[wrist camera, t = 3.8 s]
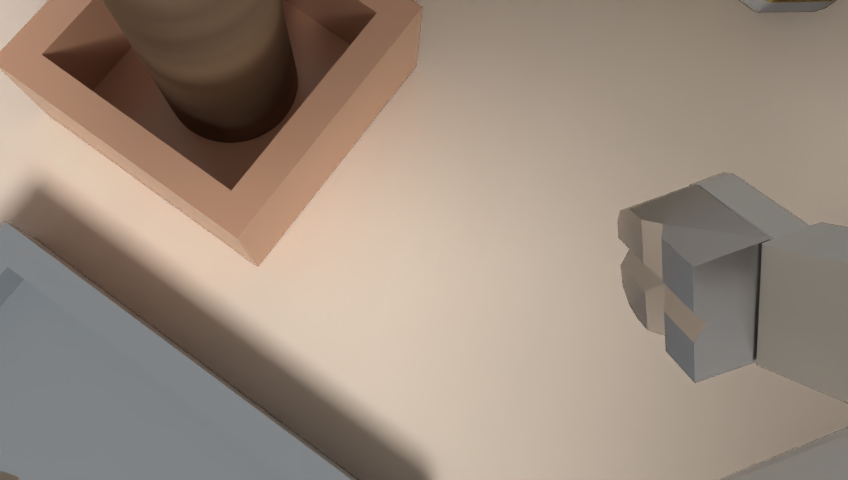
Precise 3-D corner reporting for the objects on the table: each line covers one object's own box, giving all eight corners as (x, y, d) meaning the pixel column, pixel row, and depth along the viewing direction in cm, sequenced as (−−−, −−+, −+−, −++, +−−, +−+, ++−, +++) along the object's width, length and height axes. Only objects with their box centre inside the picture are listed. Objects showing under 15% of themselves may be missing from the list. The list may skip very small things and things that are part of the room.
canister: (323, 69, 27) (293, -129, 18) (243, 168, 26) (164, 14, 17) (222, -1, 28) (138, -232, 18) (139, 94, 27) (4, -98, 17)
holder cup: (416, 65, 28) (422, 7, 24) (258, 267, 26) (236, 238, 22) (215, -72, 29) (190, -150, 25) (47, 113, 27) (-9, 60, 23)
